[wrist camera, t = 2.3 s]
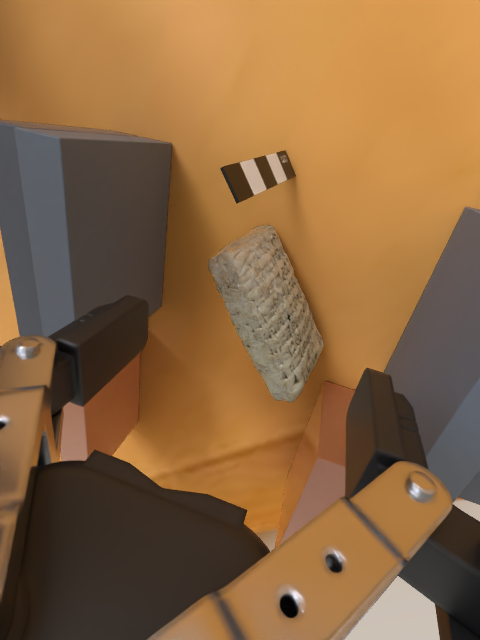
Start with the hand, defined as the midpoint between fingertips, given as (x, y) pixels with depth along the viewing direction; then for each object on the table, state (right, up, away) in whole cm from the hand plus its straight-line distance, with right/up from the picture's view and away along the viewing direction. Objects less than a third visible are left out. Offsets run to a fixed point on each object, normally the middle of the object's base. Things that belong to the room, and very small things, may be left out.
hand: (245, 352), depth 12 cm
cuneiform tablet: (+3, +5, +9) cm, 11 cm away
